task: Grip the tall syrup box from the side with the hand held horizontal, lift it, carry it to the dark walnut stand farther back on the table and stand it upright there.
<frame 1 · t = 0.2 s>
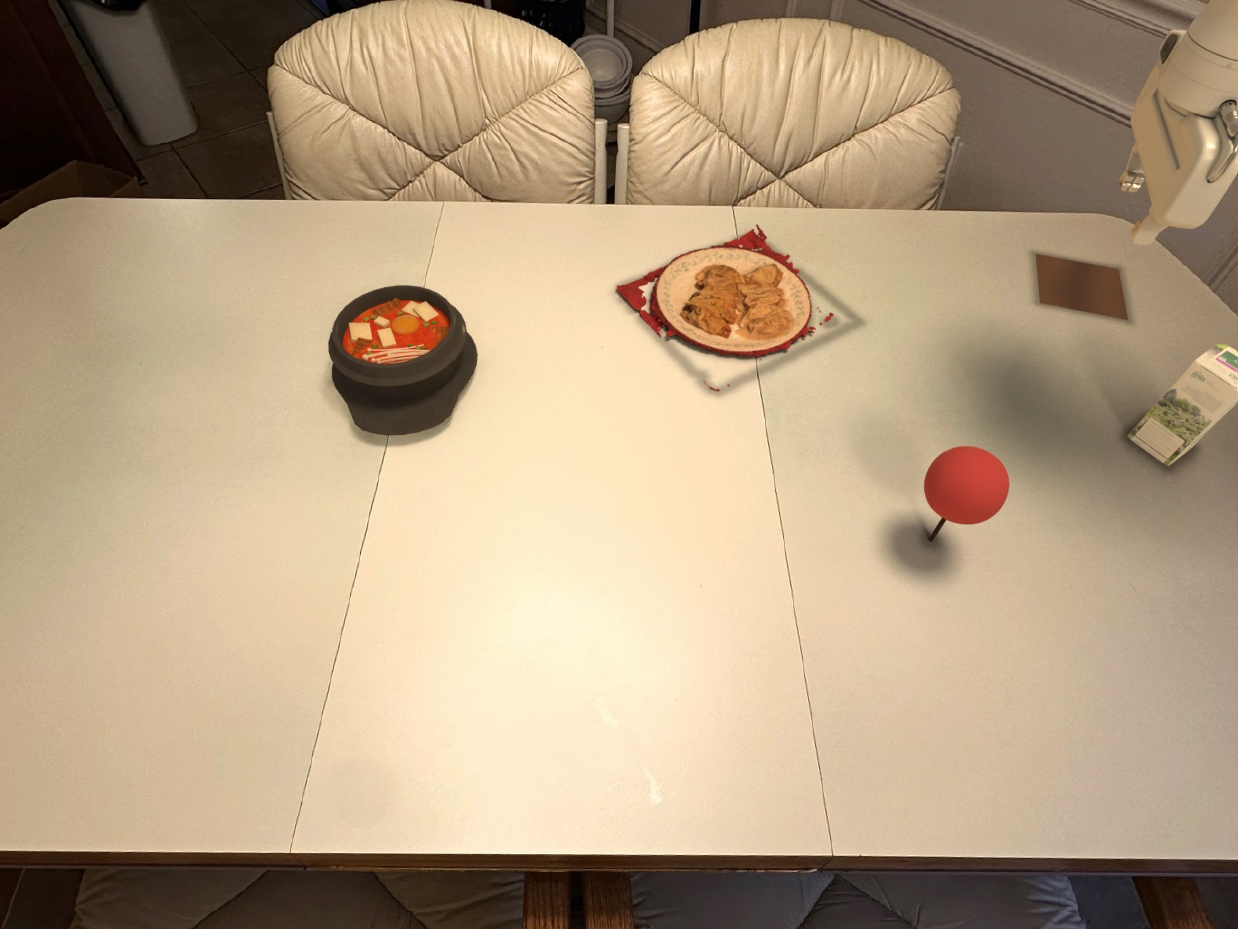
hand: (1132, 213, 76), 27 cm above the table, tool pointing down, fingers open, 8 cm apart
plate with food: (735, 311, 107), on the table
stand: (1076, 290, 111), on the table
syrup box: (1154, 447, 93), on the table
casserole: (408, 372, 98), on the table
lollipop: (926, 544, 83), on the table
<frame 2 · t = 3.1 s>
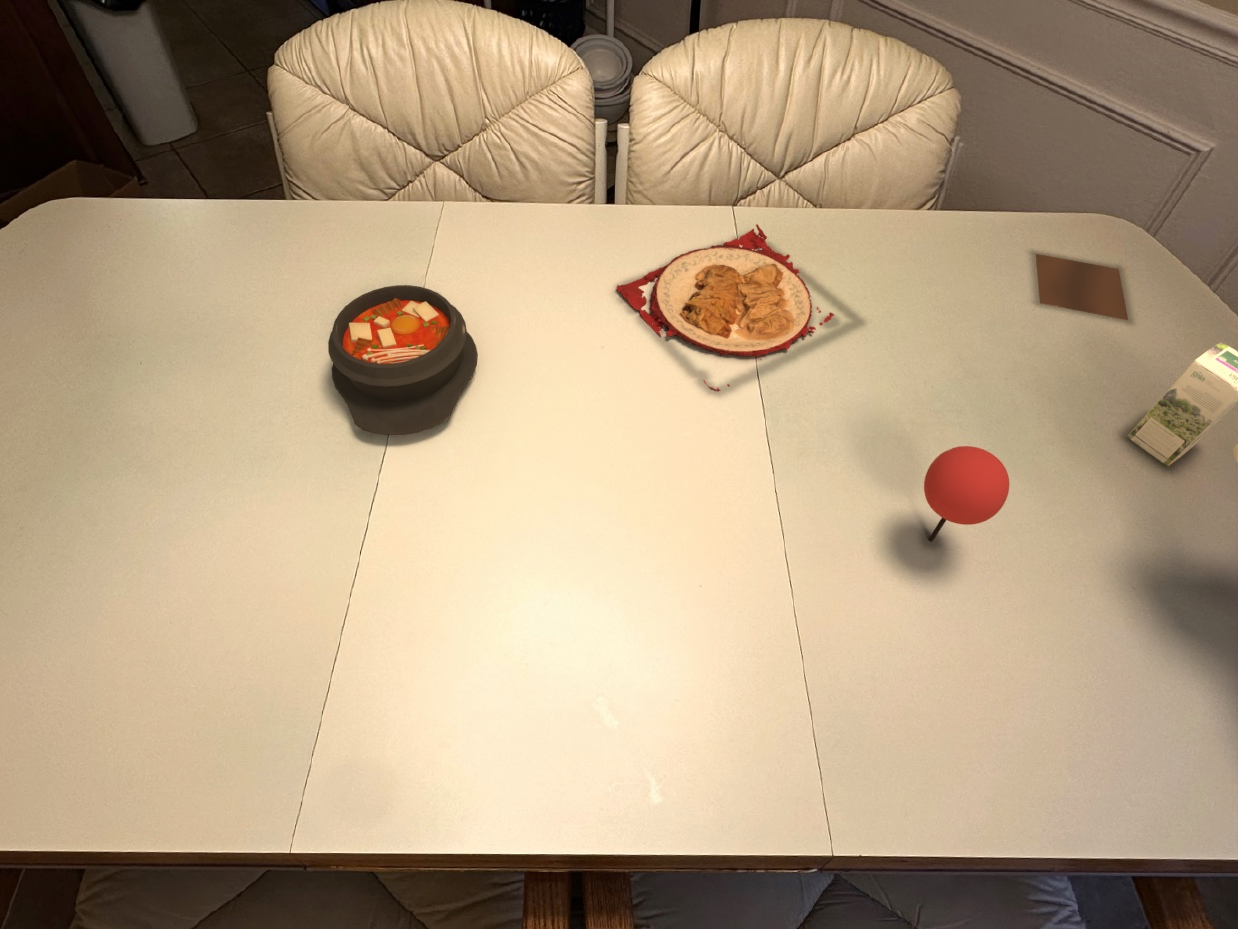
nothing on the table moved.
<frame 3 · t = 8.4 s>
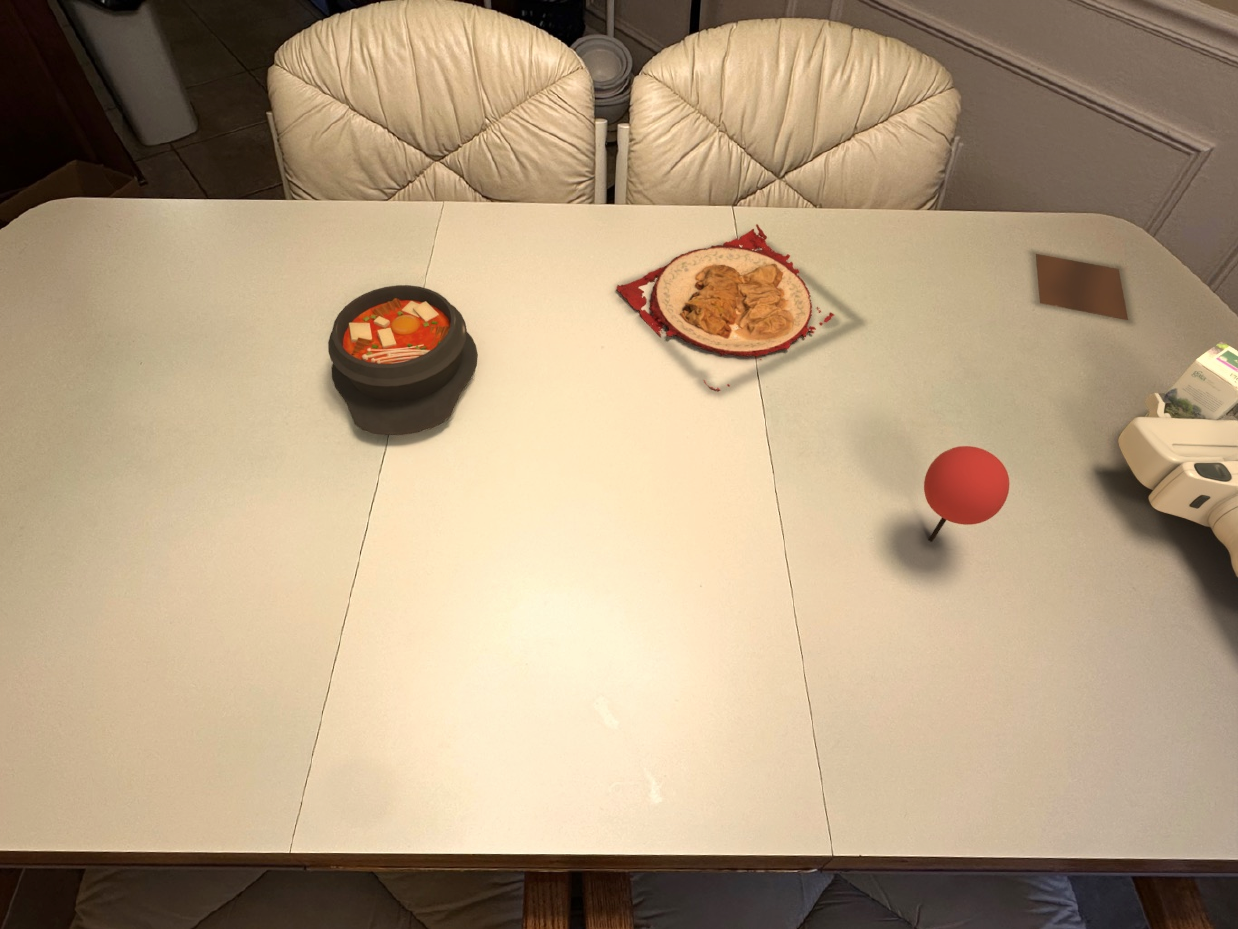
hand: (1192, 397, 87), 8 cm above the table, tool horizontal, fingers closed on syrup box, 7 cm apart
syrup box: (1153, 447, 93), on the table, touching gripper
everything else where it was.
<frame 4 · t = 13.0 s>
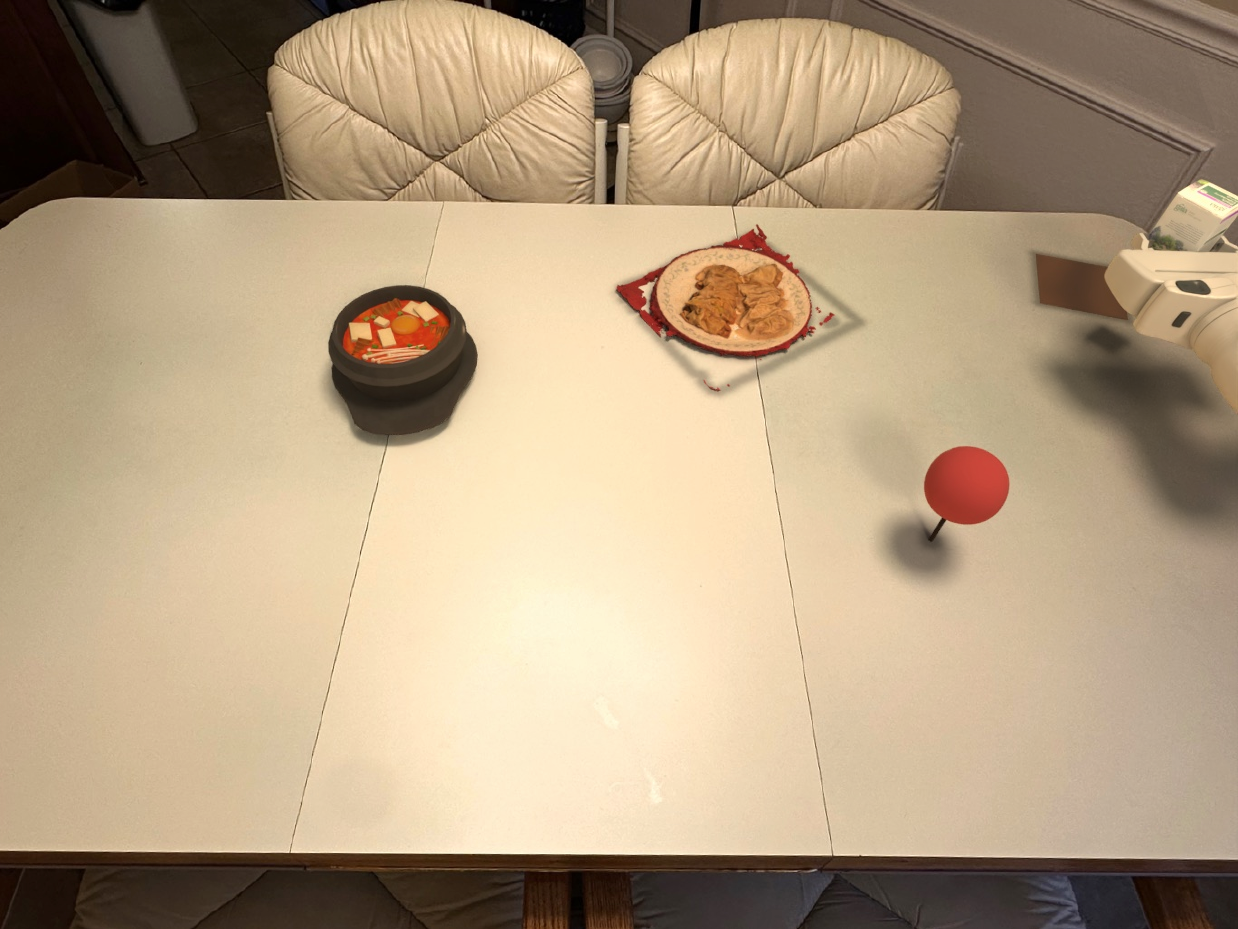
hand: (1175, 238, 91), 17 cm above the table, tool horizontal, fingers closed on syrup box, 7 cm apart
syrup box: (1140, 296, 97), point 9 cm above the table, touching gripper
everything else where it was.
when the fingers open (9 cm above the table, at t = 17.4 s): syrup box stays where it is, resting on stand.
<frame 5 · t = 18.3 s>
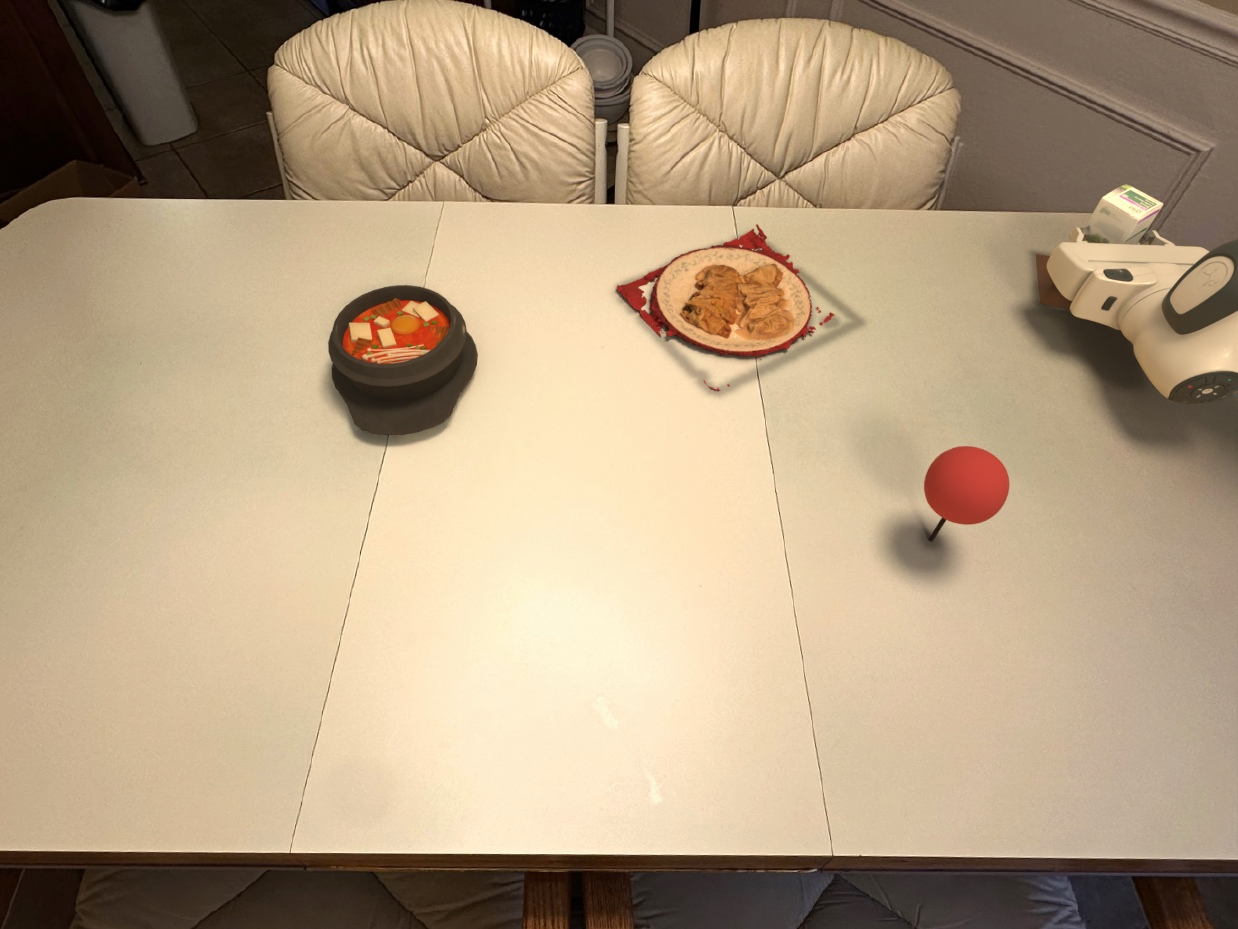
hand: (1111, 233, 102), 10 cm above the table, tool horizontal, fingers open, 8 cm apart
syrup box: (1079, 285, 110), point 1 cm above the table, touching gripper, stand
everything else where it was.
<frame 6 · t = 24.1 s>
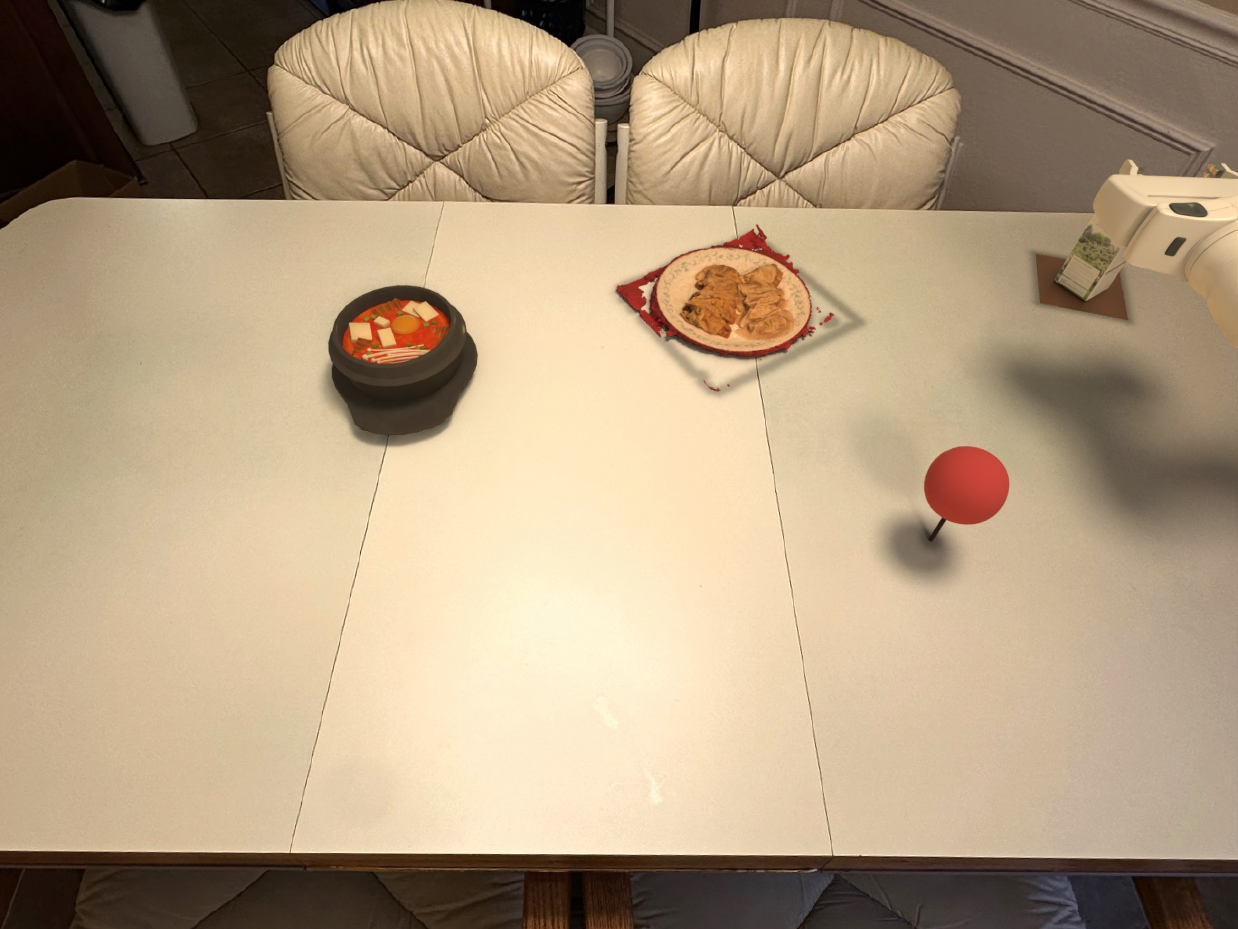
hand: (1170, 167, 84), 26 cm above the table, tool horizontal, fingers open, 8 cm apart
syrup box: (1079, 286, 110), point 1 cm above the table, touching stand
everything else where it was.
at the end: syrup box inside the target area on the stand (0.1 cm from its centre), point 0.8 cm above the stand's base; syrup box tilted 0° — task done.
